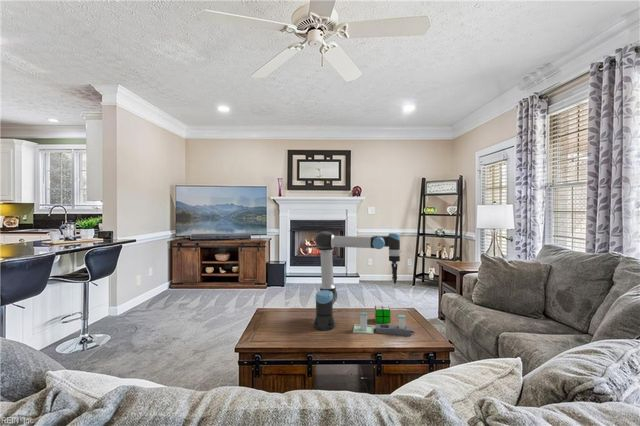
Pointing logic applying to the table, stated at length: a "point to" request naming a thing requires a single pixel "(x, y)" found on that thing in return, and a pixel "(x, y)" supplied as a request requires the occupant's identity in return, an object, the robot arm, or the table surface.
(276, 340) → the table surface
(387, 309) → the puzzle cube
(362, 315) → the plug
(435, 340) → the table surface
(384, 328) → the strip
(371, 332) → the tray
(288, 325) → the table surface
